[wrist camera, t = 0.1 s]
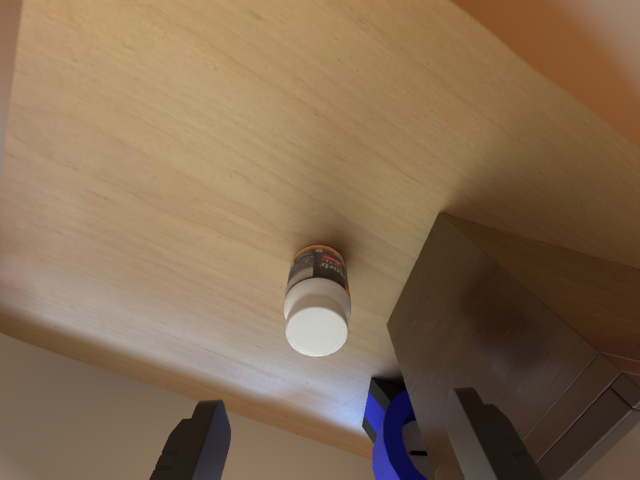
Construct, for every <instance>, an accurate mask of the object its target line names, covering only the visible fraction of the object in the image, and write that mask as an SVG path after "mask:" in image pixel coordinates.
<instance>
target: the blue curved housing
mask: <svg viewBox="0 0 640 480" xmlns="http://www.w3.org/2000/svg"><path fill="white" fill-rule="evenodd" d="M403 391H404V390H403V389H400V388H398V387H395V386H392V385H390V384H387V383H384V382H381V381H379V380H376V379H373V378H371V382H370V387H369V393H368V398H367V403H366V408H365V414H364V419H363V424H362V427H363V428H364V430H365V431H366V433H367V434H368V436H369V437H370V439H371V440H372V442H373V443H374V447H373V465H372V466H373V471H374V475H375V479H376V480H435V477H434V474H433V471H432V467H431V464H430V461H429V458H428V455H427V452H426V448H425V445H424V442H423V439H422V436H421V432H420V429H419V426H418V423H417V420H416V417H415V413H414V410H413V407H412V404H411V401H410V398H409V394H408V391H407V390H406V391H404V392H403Z"/></svg>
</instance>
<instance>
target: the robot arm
mask: <svg viewBox="0 0 640 480" xmlns="http://www.w3.org/2000/svg"><path fill="white" fill-rule="evenodd" d="M445 423H446V429H447V433H448V436H449V439H450V441H451V444H452V446H453V449H454V451H455V454H456V456H457V459H458V461H459V464H460V466H461V469H462V472H463V474H464V477H465V479H466V480H546V479H545V477H544V476H543V474H542V472H541V471H540V469H539V467H538V466H537V464H536V463H535V461H534V459H533V458H532V456H531V454H529V453H528V450H527V448H526V446H525V445H524V443H523V441H522V440H521V439H520V438H519V435H518V433H517V432H516V430H515V428H514V427H513V425H512V423H511V422H510V420H509V418H508V417H507V416H505V415H504V414H503V413H502V412H501V411H500V410H499V409H498V408H497V407H496V406H495V405H494V404H484V403H483V402H482V400H481V398H480V396H479V394H478V393H477V391H476V390H475V389H474V388H473V387H466V388H450V390H449V394H448V401H447V408H446V415H445ZM230 439H231V428H230V424H229V421H228V417H227V413H226V410H225V406H224V403H223V401H222V400H204V401H199V402H198V404H197V406H196V408H195V410H194V413H193V415H192V418H191V419H182V421H181V422H180V423H179V424H178V425H177V427H176V428H175V429H174V430H173V431H172V433H171V434H170V435H169V438H168V440H167V442H166V444H165V446H164V449H163V451H162V455H161V456H160V457H159V460H158V462H157V464H156V467H155V470H154V471H153V473H152V475H151V477H150V480H221V476H222V473H223V469H224V465H225V461H226V457H227V454H228V450H229V445H230Z"/></svg>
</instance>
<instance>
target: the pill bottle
mask: <svg viewBox="0 0 640 480" xmlns="http://www.w3.org/2000/svg"><path fill="white" fill-rule="evenodd" d="M350 313H351V300H350V293H349V287H348V280H347V273H346V267H345V263H344V260H343V258H342V257H341V255H340V254H339V253H338V252H337V251H335V250H334V249H332V248H330V247H327V246H323V245H313V246H309V247H306V248H304V249H302V250H301V251H300V252H299V253H298V254H297V255H296V256H295V257H294V259H293V261H292V264H291V267H290V272H289V278H288V283H287V288H286V294H285V299H284V315H285V318H286V337H287V340H288V342H289V343H290V345H291V346H292V347H293V348H294V349H295V350H297V351H298V352H300V353H302V354H305V355H309V356H325V355H329V354H332V353H334V352H336V351H337V350H338V349H340V348H341V347H342V346H343V344H344V343H345V341H346V339H347V336H348V322H347V321H348V319H349V316H350Z"/></svg>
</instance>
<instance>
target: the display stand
mask: <svg viewBox="0 0 640 480" xmlns="http://www.w3.org/2000/svg"><path fill="white" fill-rule="evenodd" d="M387 328H388V331H389V334H390V337H391V340H392V344H393V347H394V350H395V353H396V356H397V359H398V363H399V366H400V369H401V372H402V375H403V379H404V382H405V385H406V388H407V391H408V394H409V398H410V401H411V404H412V407H413V410H414V413H415V417H416V420H417V423H418V426H419V429H420V432H421V436H422V439H423V442H424V445H425V448H426V452H427V455H428V458H429V461H430V464H431V467H432V471H433V474H434V477H435V480H466V479H465V477H464V474H463V472H462V469H461V466H460V464H459V461H458V459H457V456H456V454H455V451H454V449H453V446H452V444H451V441H450V439H449V436H448V433H447V429H446V423H445V415H446V408H447V401H448V394H449V390H450V388H466V387H473V388H474V389H475V390H476V391H477V393H478V394H479V396H480V398H481V400H482V402H483V403H484V404H494V405H495V406H496V407H497V408H498V409H499V410H500V411H501V412H502V413H503V414H504V415H505V416H507V417H508V418H509V420H510V422H511V423H512V425H513V427H514V428H515V430H516V432H517V433H518V435H519V438H520V439H521V440H522V441H523V443H524V445H525V446H526V448H527V450H528V453H529V454H531V456H532V458H533V459H534V461H535V463H536V464H537V466H538V467H539V469H540V471H541V472H542V474H543V476H544V477H545V479H546V480H640V270H639V269H635V268H632V267H628V266H625V265H621V264H618V263H614V262H611V261H607V260H604V259H600V258H597V257H593V256H590V255H586V254H583V253H579V252H576V251H572V250H569V249H565V248H562V247H558V246H555V245H551V244H547V243H544V242H540V241H537V240H533V239H530V238H526V237H523V236H519V235H516V234H512V233H509V232H505V231H502V230H498V229H495V228H491V227H488V226H484V225H481V224H477V223H474V222H470V221H467V220H463V219H460V218H456V217H453V216H449V215H446V214H442V213H439V214H438V216H437V218H436V221H435V223H434V225H433V227H432V229H431V231H430V233H429V236H428V238H427V240H426V242H425V244H424V246H423V248H422V251H421V253H420V255H419V257H418V259H417V261H416V263H415V265H414V268H413V270H412V272H411V274H410V276H409V278H408V280H407V283H406V285H405V287H404V289H403V291H402V293H401V295H400V298H399V300H398V302H397V304H396V306H395V308H394V310H393V313H392V315H391V317H390V319H389V321H388V323H387Z"/></svg>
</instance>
